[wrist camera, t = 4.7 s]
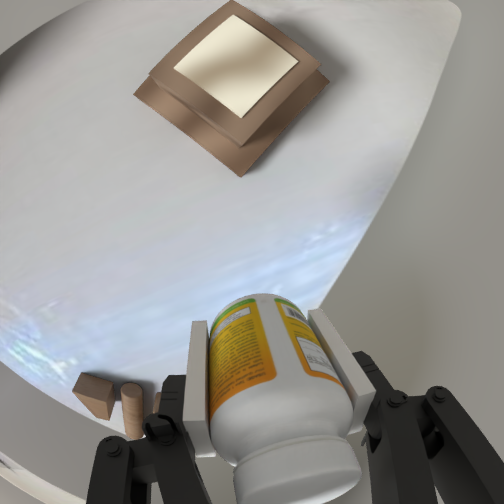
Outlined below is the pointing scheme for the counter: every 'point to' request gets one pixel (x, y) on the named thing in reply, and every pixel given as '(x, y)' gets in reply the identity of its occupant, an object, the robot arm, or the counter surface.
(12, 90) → the counter surface
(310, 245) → the counter surface
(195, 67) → the plinth
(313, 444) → the supplement bottle
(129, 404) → the wooden block set
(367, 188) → the counter surface
